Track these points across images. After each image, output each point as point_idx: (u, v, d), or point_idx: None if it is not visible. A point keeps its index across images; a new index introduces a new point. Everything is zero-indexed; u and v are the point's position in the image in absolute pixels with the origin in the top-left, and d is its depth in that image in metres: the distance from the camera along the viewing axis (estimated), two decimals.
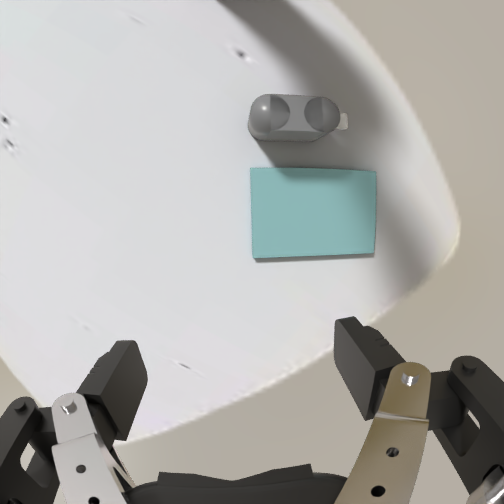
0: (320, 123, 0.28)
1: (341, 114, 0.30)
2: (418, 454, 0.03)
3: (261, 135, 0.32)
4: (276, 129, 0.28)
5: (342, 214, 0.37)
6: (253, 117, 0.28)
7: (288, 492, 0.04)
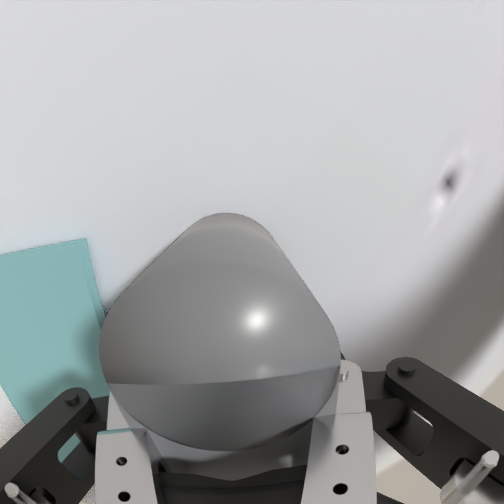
0: None
1: None
2: (369, 447, 0.04)
3: None
4: (122, 403, 0.05)
5: (74, 435, 0.13)
6: (151, 286, 0.04)
7: (288, 492, 0.04)
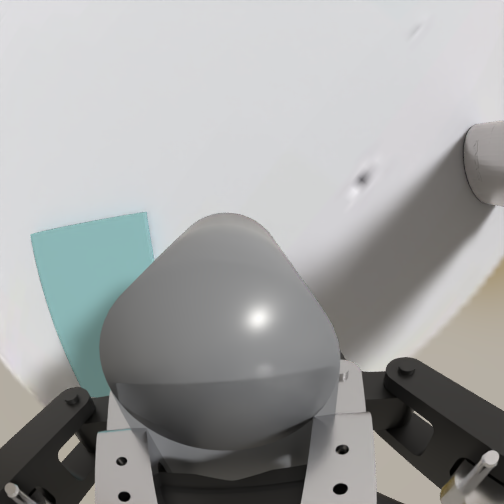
0: None
1: None
2: (370, 447, 0.04)
3: None
4: (122, 402, 0.05)
5: None
6: (152, 285, 0.04)
7: (288, 492, 0.04)
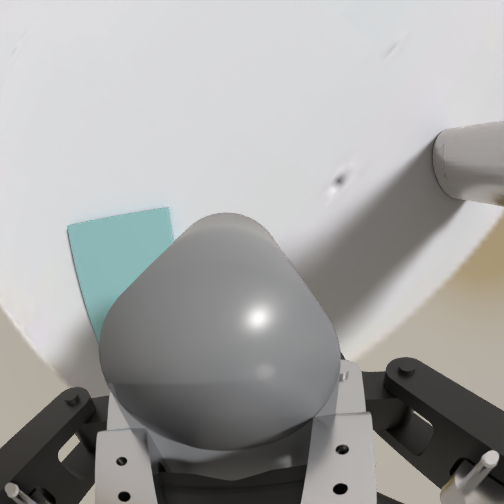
0: None
1: None
2: (369, 446, 0.04)
3: None
4: (122, 403, 0.05)
5: None
6: (151, 285, 0.04)
7: (288, 492, 0.04)
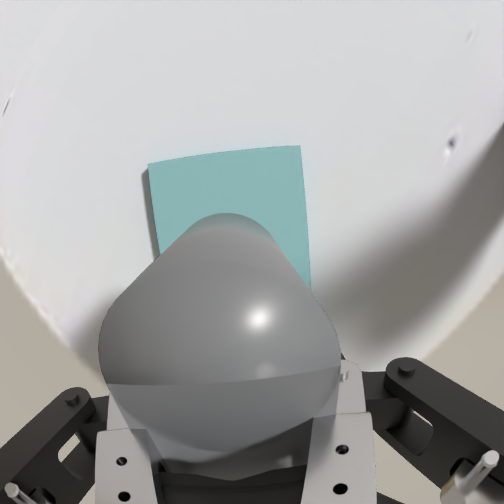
0: None
1: None
2: (369, 446, 0.04)
3: None
4: (121, 404, 0.05)
5: None
6: (151, 286, 0.04)
7: (288, 492, 0.04)
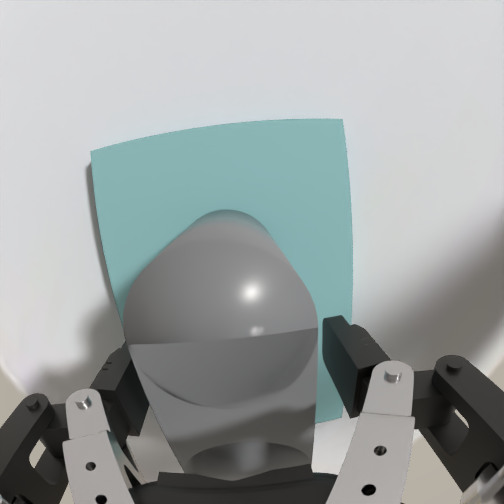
0: (213, 472, 0.07)
1: None
2: (406, 451, 0.03)
3: None
4: (138, 363, 0.06)
5: None
6: (170, 259, 0.05)
7: (288, 492, 0.04)
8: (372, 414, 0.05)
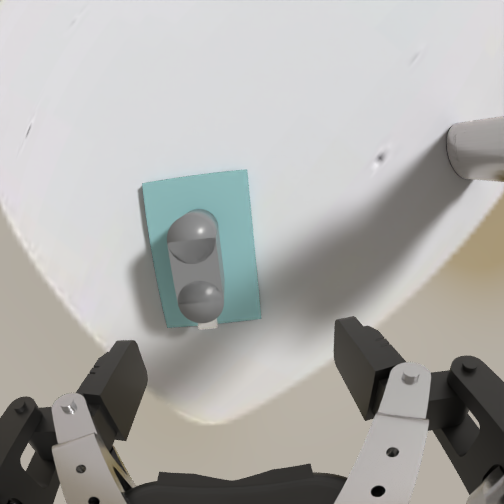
0: (188, 300, 0.26)
1: (214, 321, 0.28)
2: (418, 454, 0.03)
3: None
4: (169, 249, 0.24)
5: None
6: (180, 219, 0.24)
7: (288, 492, 0.04)
8: (387, 415, 0.04)
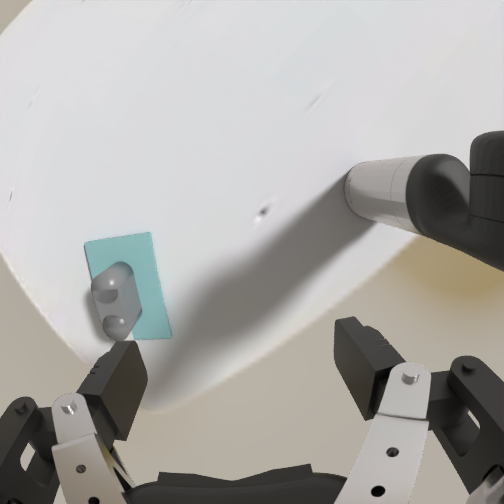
0: (108, 326, 0.36)
1: (129, 339, 0.39)
2: (418, 454, 0.03)
3: None
4: (93, 294, 0.35)
5: None
6: (96, 277, 0.34)
7: (288, 492, 0.04)
8: (387, 415, 0.04)
